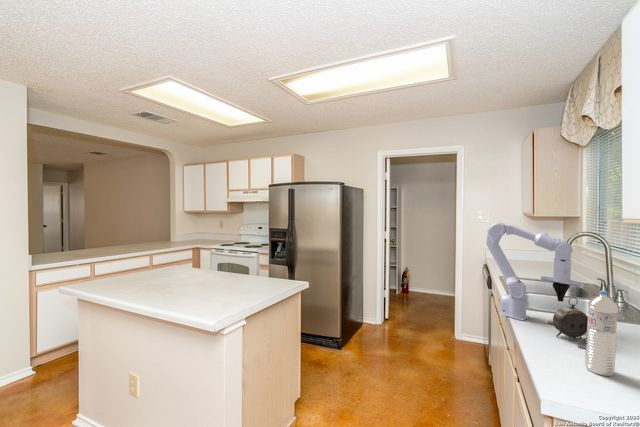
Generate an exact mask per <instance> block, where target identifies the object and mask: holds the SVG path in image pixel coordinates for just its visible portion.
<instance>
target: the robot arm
mask: <svg viewBox="0 0 640 427" xmlns="http://www.w3.org/2000/svg"><path fill="white" fill-rule="evenodd" d="M504 235H506V236H508V235H509V236H511V235H515V236H518V237H520V238H523V239H527V240H529V241H531V242H533V244H534V245H535V246H537V247H540V248H542V249H545V250H547V251H550V252H555V253H554V259H553V260H554V261H553V276H546V275H545V276H544V275H541V276H540V281H541V282H545V283H547V282H548V283H552V287H553V290H554V291H555V294H556V297H557V298H556V299H557V302H561V303H562V302H564V299H565V296H566V293H567V291H568V290H569V289H570V287H574V288H575V287H576V288H580V289H584V287H585V283H584V282H581V281H580V282H579V281H577V280H572V279H571V272H572V271H571V270H572V269H571V268H572V259H571V258H572V253H573V247H572V246H571V244H570V243H569V242H568V241H566V240H562V239H561V238H559V237H558V238H555V237H553V236H551V235H549V234H548V233H542V232H540V233H538V234H536V233H533V232H531V231H527V230H525V229H524V228H523V229H522V228H520V227H518V226H516V225H512V224H508V223H503V222H500V221H498V222H495V223H492V224H491V225H490V226H489V228H488V230H487V235H486V243H485V244H486V246H487V248H488V250H489V252H490V254H491V255H492V257H493V259H494V261H495V262H496V265H497V266H498V269H499V270H500V272H501V274H502V275H503V277H504V279H505V282H506V284H507V286H508V294H504V295H502V298H501V302H500V303H501V304H500V315H501V316H505V317H509V318H511V319H516V320H519V321H522V322H523V321H525V320H526V319H528V318H530V315H528V314H527V303H528V302H527V299H528V298H527V296H526V292H527V286H526V285H525V283H524V282H523V281H521V280H520V279H519V276H518V275H516V272H515V271H514V269H513V267H512V265H511V263H510V261H509V260H508V258H507V256H506V254H505V253H504V251H503V249H502V247H501V246H500V241H501V238H502V237H503V236H504Z"/></svg>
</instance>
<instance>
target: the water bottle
mask: <svg viewBox="0 0 640 427" xmlns="http://www.w3.org/2000/svg"><path fill="white" fill-rule="evenodd" d="M598 293H599V295H596V296H594V297H593V298H591V299H590V300H589V301H588V303H587V317H588V324H587V335H586V336H585V338H586V350H585V358H584V359H585V360H584V362H585V363H584V365H585V368H586V369H587V370H588V371H590V372H591V373H593V374H596V375H598V376H599V375H600V376H604V377H613V376H614V375H615V370H616V355H617V354H616V353H617V352H616V351H617V338H618V336H617V334H618V333H617V329H618V328H617V324H618V323H617V321H618V312H619V306H618V305H617V304H616V302H614V301H613V299H611V298H609V297H608V291H606V290H599V292H598Z"/></svg>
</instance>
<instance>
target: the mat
mask: <svg viewBox="0 0 640 427" xmlns="http://www.w3.org/2000/svg"><path fill="white" fill-rule="evenodd" d="M577 348H578V349H582V350H585V351H586V337H585V338H584V339H583V341H581V342H580V343H579V344H578V346H577Z"/></svg>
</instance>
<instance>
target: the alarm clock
mask: <svg viewBox="0 0 640 427" xmlns="http://www.w3.org/2000/svg"><path fill="white" fill-rule="evenodd" d="M572 299H574V300H576V303H575V304H574V303H572V304H571V303H570V301H571V300H572ZM578 302H579V301H578V299H577V297H574V296H572V297H570V298H569V299H568V304H569V305H570V306H569V305H568V306H563V307H560V308H559V309H557V310H556V311H555V313H554V314H553V316H552V321H553V324H554V325H553V326H554V328H555V329H556V330H557V331H559V332H558V333H557V335H556V338H558V337H559V336H560V335H562V334H563V335H564V336H566V337H569V338H572V340H573V341H574V342H576V340H577V339H576V338H579V339H583V338H582V336H584V335H585V333H586V332H587V324H588V314H586V313H585V312H583V311H582V310H580V309H578V308H576V307H575V306H576V305H577V304H578Z"/></svg>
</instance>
